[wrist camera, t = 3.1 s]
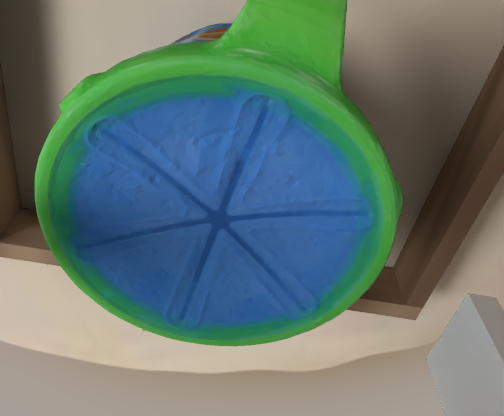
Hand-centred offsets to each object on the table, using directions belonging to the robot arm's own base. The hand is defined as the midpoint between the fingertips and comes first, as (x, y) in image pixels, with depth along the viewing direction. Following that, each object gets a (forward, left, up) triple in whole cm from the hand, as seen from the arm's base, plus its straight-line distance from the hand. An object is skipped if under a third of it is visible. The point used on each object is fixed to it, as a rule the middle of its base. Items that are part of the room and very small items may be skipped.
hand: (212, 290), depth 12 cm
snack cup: (0, 0, -12) cm, 12 cm away
